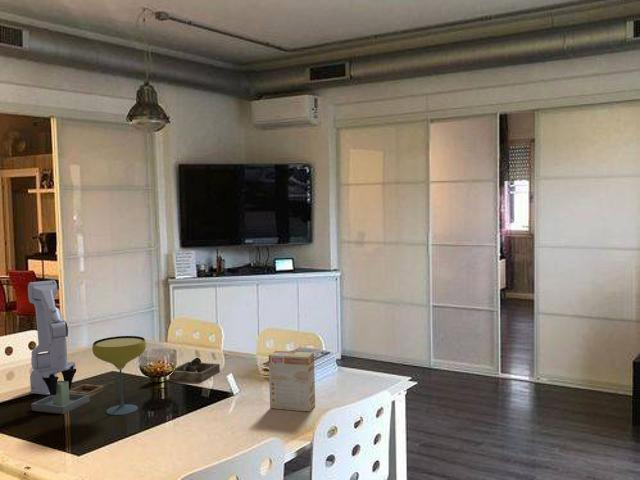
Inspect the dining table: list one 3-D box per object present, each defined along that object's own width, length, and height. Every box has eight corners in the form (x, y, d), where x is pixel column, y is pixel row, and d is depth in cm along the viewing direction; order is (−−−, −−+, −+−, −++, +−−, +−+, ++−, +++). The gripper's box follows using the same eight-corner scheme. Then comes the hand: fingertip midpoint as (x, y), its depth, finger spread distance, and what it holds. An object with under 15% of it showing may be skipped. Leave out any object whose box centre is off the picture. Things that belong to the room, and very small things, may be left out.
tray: (31, 410, 228) (31, 403, 228) (59, 398, 241) (59, 392, 241) (63, 413, 223) (63, 407, 223) (89, 401, 236) (89, 395, 236)
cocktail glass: (99, 422, 214) (96, 349, 212) (92, 407, 230) (88, 339, 228) (153, 413, 222) (150, 343, 220) (142, 399, 238) (139, 333, 236)
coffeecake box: (315, 406, 226) (314, 352, 225) (309, 412, 219) (307, 357, 218) (277, 402, 231) (275, 349, 230) (269, 408, 224) (268, 354, 223)
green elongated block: (52, 405, 231) (51, 383, 230) (60, 401, 235) (59, 380, 234) (61, 406, 229) (60, 384, 229) (69, 402, 233) (68, 381, 233)
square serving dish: (169, 379, 264) (169, 371, 263) (188, 369, 278) (188, 361, 278) (202, 382, 259) (201, 373, 258) (219, 371, 273) (219, 364, 273)
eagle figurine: (203, 373, 267) (205, 364, 276) (193, 361, 265) (195, 352, 274) (189, 383, 268) (191, 373, 276) (178, 370, 266) (181, 361, 274)
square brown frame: (65, 395, 245) (65, 391, 245) (83, 387, 254) (83, 383, 254) (88, 397, 241) (87, 393, 241) (105, 389, 251) (105, 385, 251)
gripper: (53, 360, 223) (55, 398, 224) (81, 351, 236) (82, 386, 237) (37, 359, 225) (39, 397, 226) (65, 349, 239) (67, 385, 240)
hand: (60, 391), depth 232 cm, fingers open, 7 cm apart
